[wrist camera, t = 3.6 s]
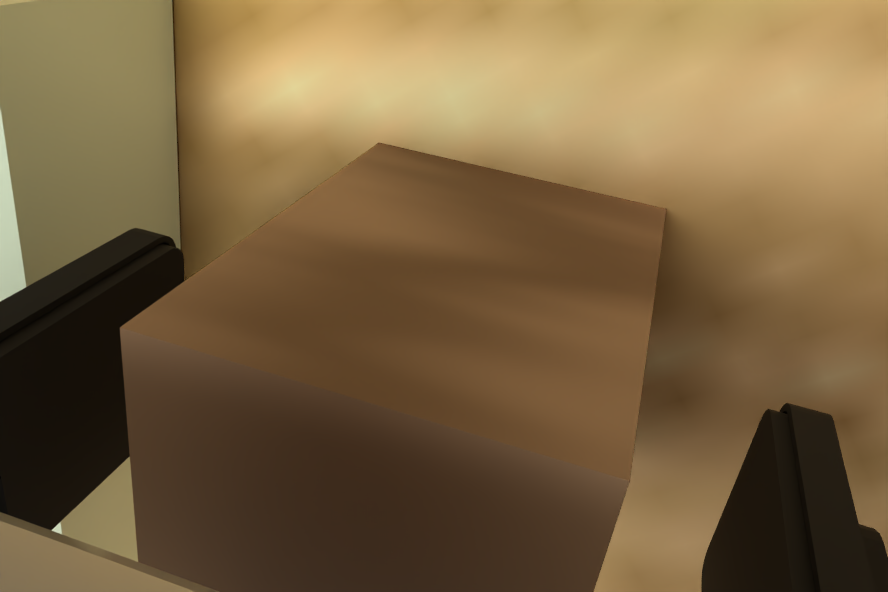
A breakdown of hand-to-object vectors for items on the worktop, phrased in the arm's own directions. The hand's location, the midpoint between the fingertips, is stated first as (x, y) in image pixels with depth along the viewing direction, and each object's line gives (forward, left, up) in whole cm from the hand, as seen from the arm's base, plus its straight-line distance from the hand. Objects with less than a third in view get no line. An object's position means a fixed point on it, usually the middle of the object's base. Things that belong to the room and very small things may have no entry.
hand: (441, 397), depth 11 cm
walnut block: (0, 0, -3) cm, 3 cm away
